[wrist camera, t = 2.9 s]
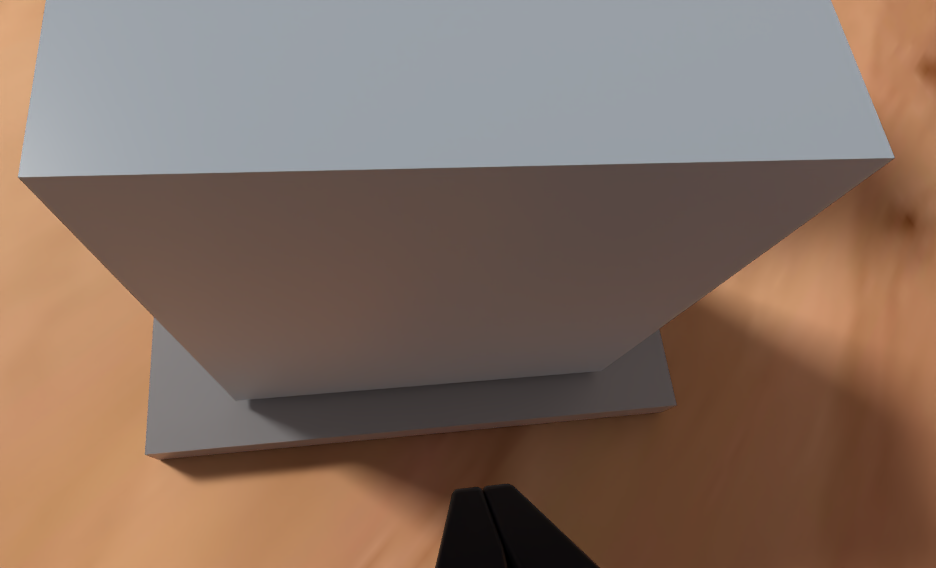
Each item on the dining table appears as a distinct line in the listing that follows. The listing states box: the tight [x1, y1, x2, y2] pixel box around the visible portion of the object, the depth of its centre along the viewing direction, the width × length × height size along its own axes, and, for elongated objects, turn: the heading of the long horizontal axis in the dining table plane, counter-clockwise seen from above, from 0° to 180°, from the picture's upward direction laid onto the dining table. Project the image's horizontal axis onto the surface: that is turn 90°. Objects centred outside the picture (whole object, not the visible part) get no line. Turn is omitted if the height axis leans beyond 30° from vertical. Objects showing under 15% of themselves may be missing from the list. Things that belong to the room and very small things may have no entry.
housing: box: [145, 317, 677, 460], centre depth 14 cm, size 15×13×12 cm
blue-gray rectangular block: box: [18, 0, 895, 401], centre depth 12 cm, size 5×9×10 cm, turn 96°
